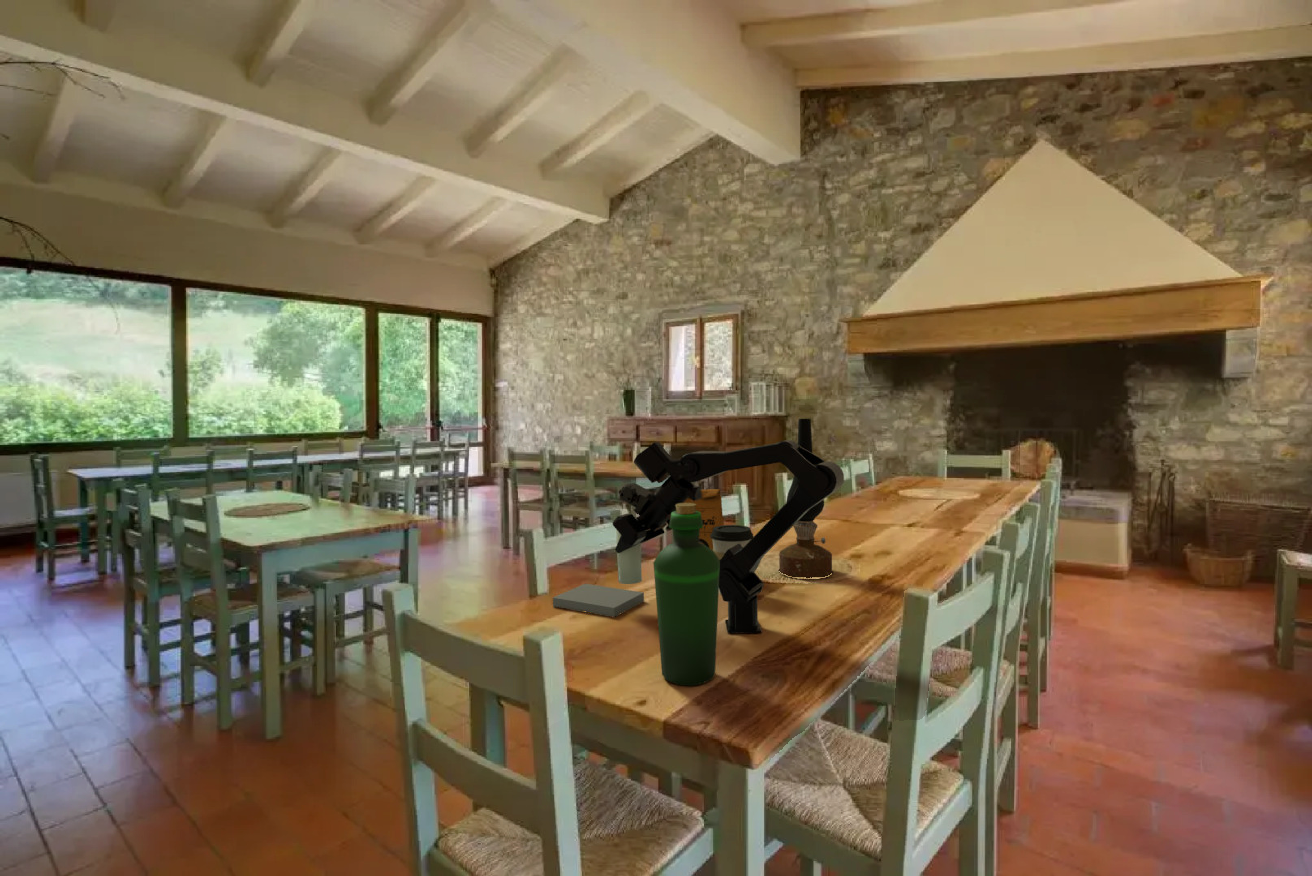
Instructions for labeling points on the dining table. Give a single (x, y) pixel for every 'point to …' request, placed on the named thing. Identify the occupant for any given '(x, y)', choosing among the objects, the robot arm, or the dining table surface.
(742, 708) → the dining table surface
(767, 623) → the dining table surface
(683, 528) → the bottle
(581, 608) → the slate board
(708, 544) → the coffee package
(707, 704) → the dining table surface
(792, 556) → the oil lamp
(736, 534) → the coffee cup
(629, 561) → the shaker
